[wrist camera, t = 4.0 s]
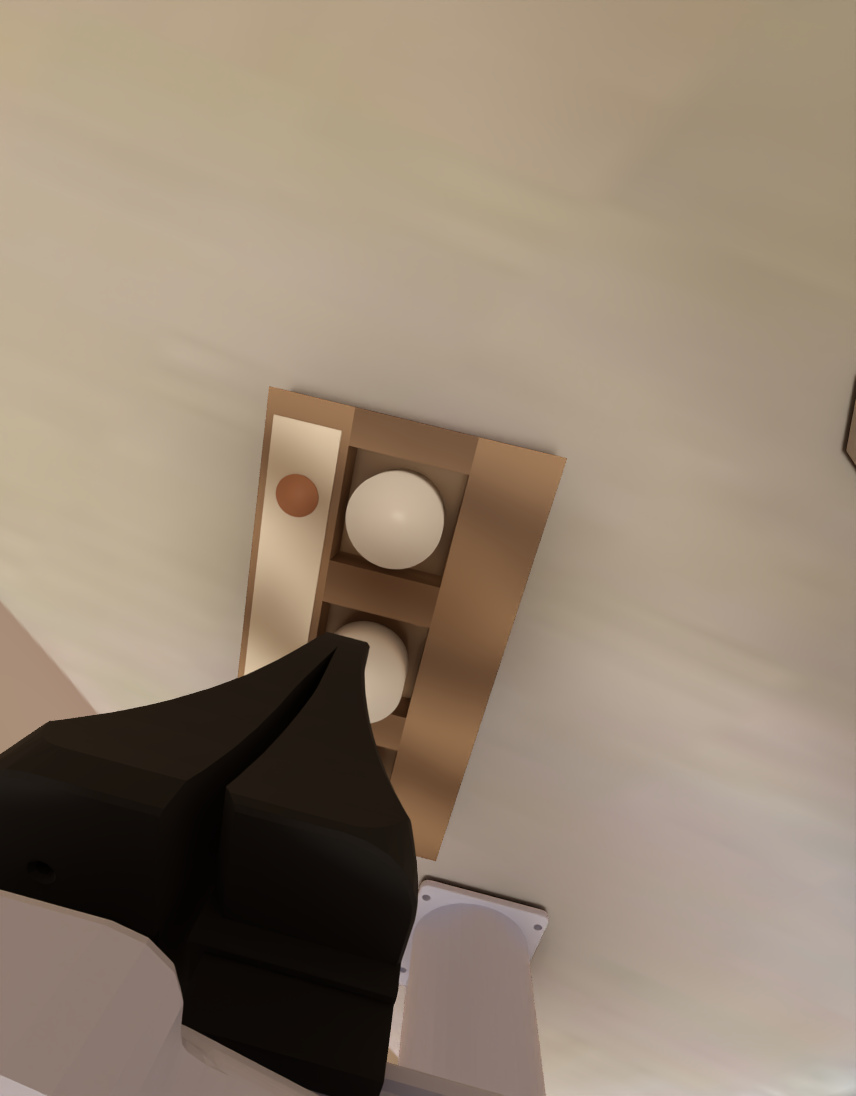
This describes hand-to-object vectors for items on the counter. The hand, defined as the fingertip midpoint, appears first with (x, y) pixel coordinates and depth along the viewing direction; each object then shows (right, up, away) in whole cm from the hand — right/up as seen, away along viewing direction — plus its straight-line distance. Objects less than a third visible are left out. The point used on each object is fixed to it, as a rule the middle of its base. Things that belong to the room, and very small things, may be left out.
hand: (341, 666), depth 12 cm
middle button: (0, -2, +7) cm, 8 cm away
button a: (+1, +5, +6) cm, 8 cm away
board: (0, -1, +9) cm, 9 cm away
